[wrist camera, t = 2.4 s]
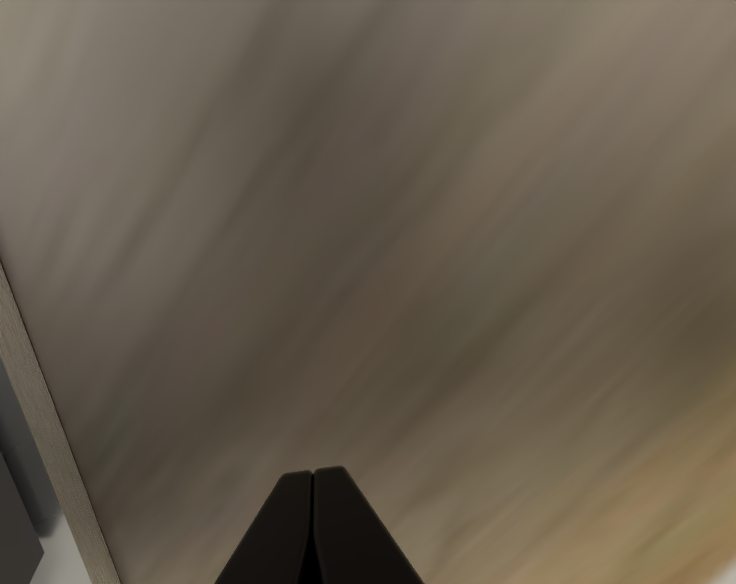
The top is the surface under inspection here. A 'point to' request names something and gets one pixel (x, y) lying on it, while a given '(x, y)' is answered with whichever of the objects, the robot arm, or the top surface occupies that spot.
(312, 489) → the robot arm
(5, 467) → the block with white pegs
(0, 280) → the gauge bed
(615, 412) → the top surface
